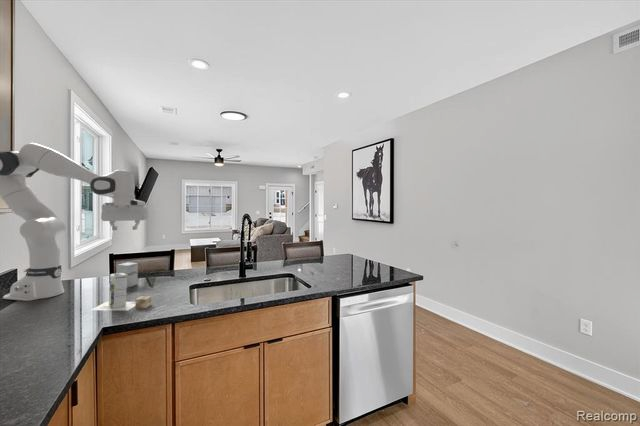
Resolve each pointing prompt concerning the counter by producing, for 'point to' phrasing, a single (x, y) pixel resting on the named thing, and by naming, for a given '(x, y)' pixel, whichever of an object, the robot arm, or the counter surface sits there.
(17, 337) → the counter surface
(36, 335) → the counter surface
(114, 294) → the syrup box
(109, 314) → the counter surface
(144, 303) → the beech block
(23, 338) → the counter surface
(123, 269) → the supplement box
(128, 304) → the envelope
